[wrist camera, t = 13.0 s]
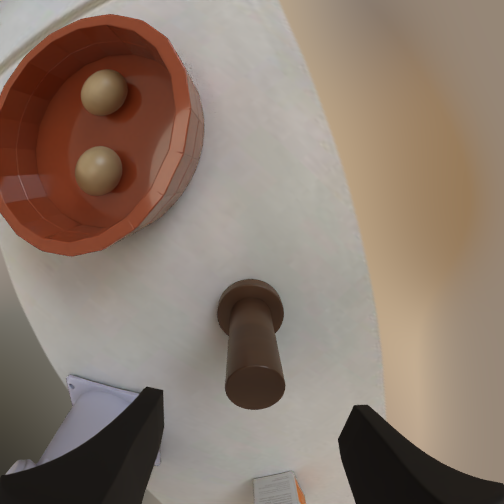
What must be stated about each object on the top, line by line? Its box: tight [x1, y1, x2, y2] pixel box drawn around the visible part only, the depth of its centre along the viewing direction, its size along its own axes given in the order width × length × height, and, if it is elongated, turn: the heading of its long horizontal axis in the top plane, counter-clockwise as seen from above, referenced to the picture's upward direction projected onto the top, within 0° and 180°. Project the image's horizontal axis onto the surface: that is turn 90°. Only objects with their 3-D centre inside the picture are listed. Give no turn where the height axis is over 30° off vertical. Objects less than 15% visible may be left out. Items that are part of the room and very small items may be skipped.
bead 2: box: [75, 146, 122, 196], centre depth 15 cm, size 3×3×3 cm
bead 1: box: [81, 69, 128, 116], centre depth 14 cm, size 3×3×3 cm
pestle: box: [217, 279, 285, 410], centre depth 15 cm, size 4×4×8 cm
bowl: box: [0, 14, 204, 256], centre depth 14 cm, size 12×12×5 cm
